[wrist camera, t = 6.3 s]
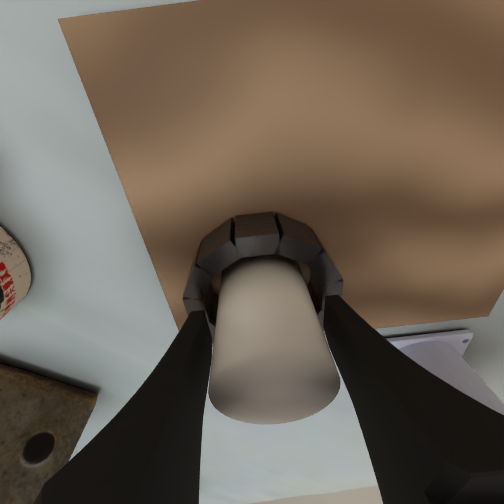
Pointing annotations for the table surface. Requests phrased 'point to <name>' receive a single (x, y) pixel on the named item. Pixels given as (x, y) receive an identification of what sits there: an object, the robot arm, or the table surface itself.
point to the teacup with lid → (12, 273)
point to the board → (314, 138)
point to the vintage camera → (37, 430)
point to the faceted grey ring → (256, 244)
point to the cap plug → (269, 345)
